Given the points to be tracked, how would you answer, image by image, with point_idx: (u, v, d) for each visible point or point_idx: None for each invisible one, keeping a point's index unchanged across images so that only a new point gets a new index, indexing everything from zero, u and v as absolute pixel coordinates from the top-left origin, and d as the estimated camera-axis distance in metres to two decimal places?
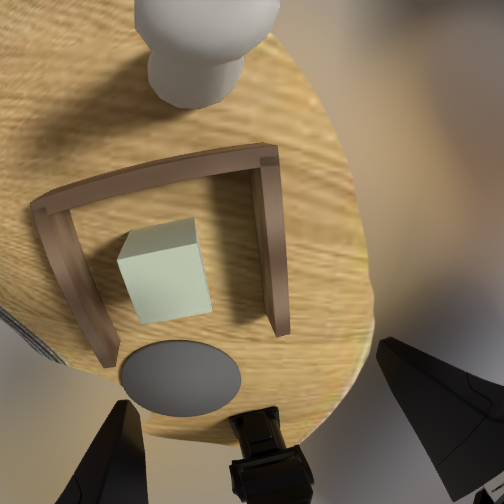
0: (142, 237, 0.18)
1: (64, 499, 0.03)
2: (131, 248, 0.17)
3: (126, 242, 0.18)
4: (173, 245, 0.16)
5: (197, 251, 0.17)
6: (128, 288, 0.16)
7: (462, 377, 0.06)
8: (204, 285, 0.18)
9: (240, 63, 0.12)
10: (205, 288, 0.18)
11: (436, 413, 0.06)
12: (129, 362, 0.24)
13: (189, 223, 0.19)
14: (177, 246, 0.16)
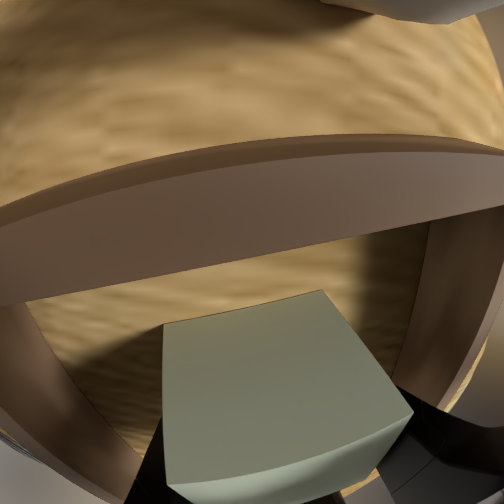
0: (212, 369, 0.06)
1: None
2: (195, 423, 0.05)
3: (168, 385, 0.06)
4: (347, 429, 0.04)
5: (403, 424, 0.05)
6: None
7: (416, 407, 0.06)
8: (377, 461, 0.06)
9: None
10: (376, 463, 0.06)
11: None
12: None
13: (328, 316, 0.08)
14: (364, 433, 0.04)
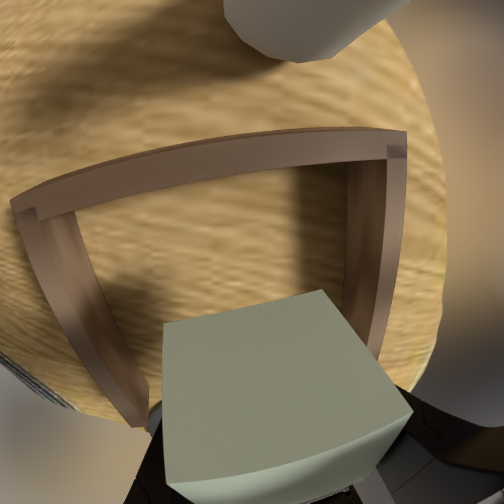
0: (212, 368, 0.06)
1: None
2: (195, 421, 0.05)
3: (167, 384, 0.06)
4: (347, 428, 0.04)
5: (403, 423, 0.05)
6: None
7: (416, 407, 0.06)
8: (377, 460, 0.06)
9: None
10: (376, 463, 0.06)
11: None
12: (160, 410, 0.18)
13: (328, 315, 0.08)
14: (364, 433, 0.04)
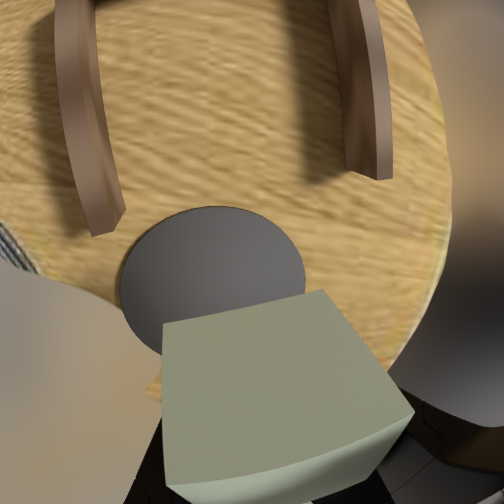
0: (212, 368, 0.06)
1: None
2: (195, 422, 0.05)
3: (167, 385, 0.06)
4: (348, 429, 0.04)
5: (405, 424, 0.05)
6: None
7: (416, 407, 0.06)
8: (378, 461, 0.06)
9: None
10: (377, 464, 0.06)
11: None
12: (135, 252, 0.16)
13: (329, 315, 0.08)
14: (365, 433, 0.04)
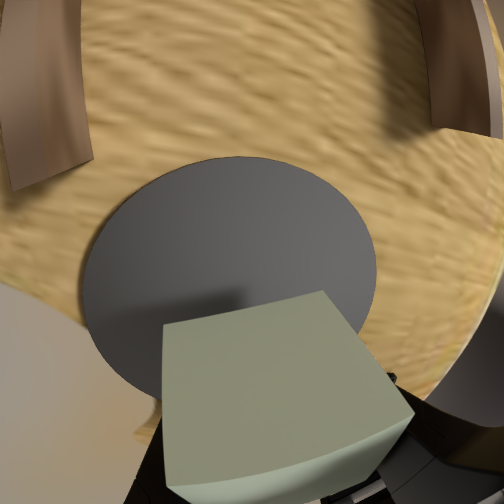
0: (212, 370, 0.06)
1: None
2: (195, 424, 0.05)
3: (167, 386, 0.06)
4: (348, 430, 0.04)
5: (404, 425, 0.05)
6: None
7: (416, 407, 0.06)
8: (378, 462, 0.06)
9: None
10: (377, 464, 0.06)
11: None
12: (106, 234, 0.09)
13: (329, 317, 0.08)
14: (365, 435, 0.04)
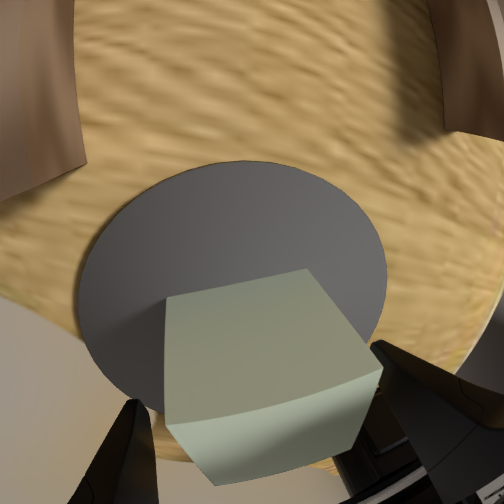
0: (208, 331, 0.08)
1: (75, 501, 0.03)
2: (192, 373, 0.06)
3: (169, 344, 0.07)
4: (322, 378, 0.06)
5: (376, 381, 0.06)
6: (195, 458, 0.06)
7: (454, 382, 0.06)
8: (359, 425, 0.07)
9: None
10: (358, 428, 0.07)
11: (427, 419, 0.06)
12: (101, 245, 0.08)
13: (310, 289, 0.09)
14: (338, 382, 0.06)
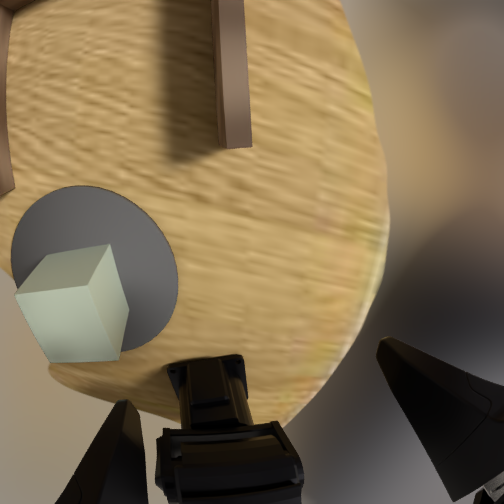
0: (49, 267, 0.14)
1: (64, 499, 0.03)
2: (32, 280, 0.12)
3: (33, 271, 0.13)
4: (65, 285, 0.12)
5: (89, 294, 0.12)
6: (30, 325, 0.12)
7: (462, 377, 0.06)
8: (104, 332, 0.13)
9: None
10: (106, 335, 0.13)
11: (436, 413, 0.06)
12: (20, 226, 0.14)
13: (99, 253, 0.15)
14: (67, 287, 0.11)
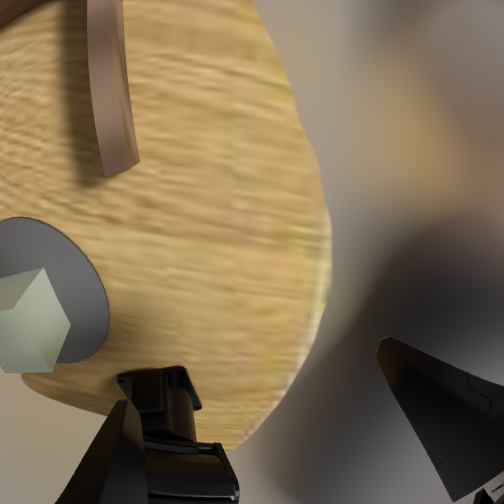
0: None
1: (64, 499, 0.03)
2: None
3: None
4: (0, 308, 0.11)
5: (16, 316, 0.11)
6: None
7: (462, 377, 0.06)
8: (34, 348, 0.12)
9: None
10: (36, 351, 0.12)
11: (436, 413, 0.06)
12: None
13: (32, 277, 0.14)
14: (1, 310, 0.11)
